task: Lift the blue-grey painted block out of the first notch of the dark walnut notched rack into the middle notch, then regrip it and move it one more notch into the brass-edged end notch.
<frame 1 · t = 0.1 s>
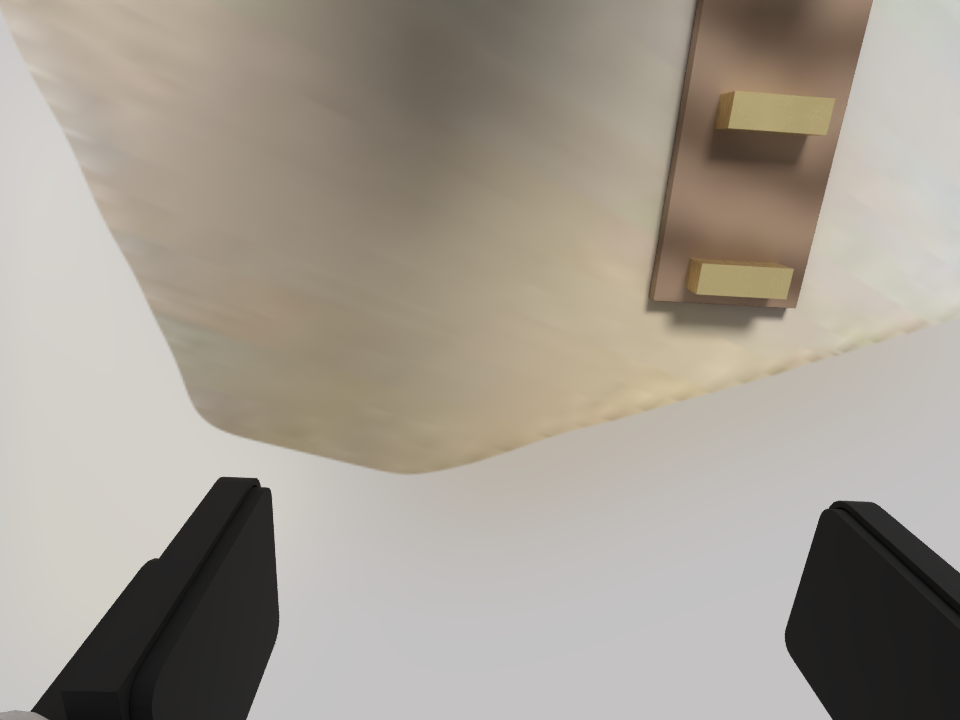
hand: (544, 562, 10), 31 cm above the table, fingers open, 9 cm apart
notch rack: (775, 27, 35), on the table
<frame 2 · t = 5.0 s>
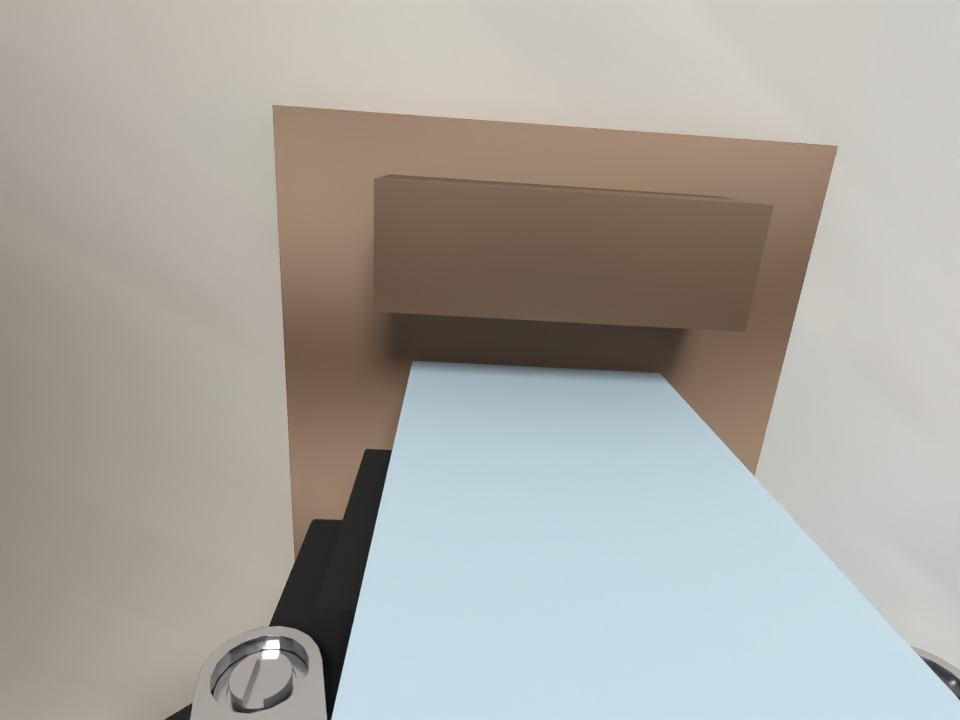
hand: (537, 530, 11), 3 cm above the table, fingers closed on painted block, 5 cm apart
painted block: (526, 475, 12), point 1 cm above the table, touching gripper, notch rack
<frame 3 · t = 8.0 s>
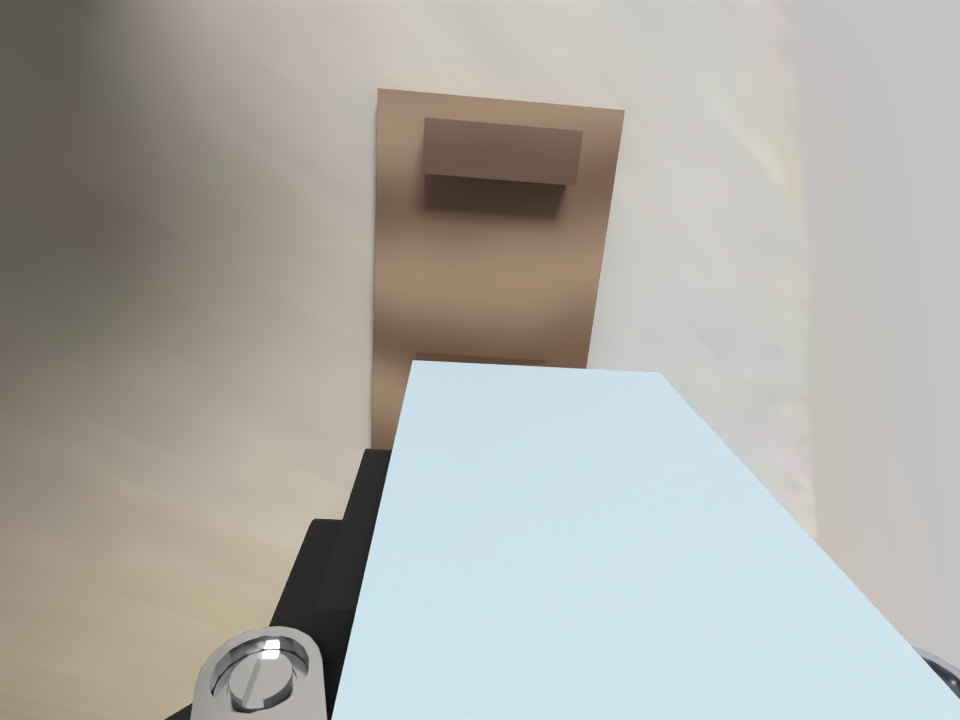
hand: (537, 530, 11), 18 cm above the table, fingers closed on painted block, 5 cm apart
painted block: (526, 475, 12), point 16 cm above the table, touching gripper
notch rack: (471, 458, 30), on the table
when the fingers open (4 cm above the table, at t = 11.5 s): painted block drops 1 cm, resting on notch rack.
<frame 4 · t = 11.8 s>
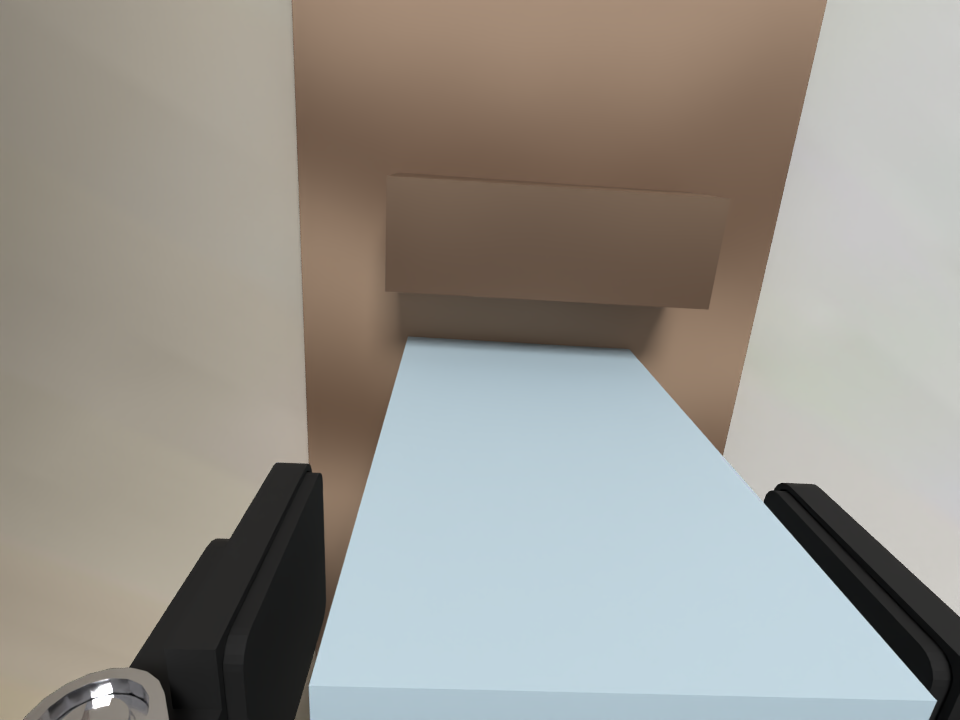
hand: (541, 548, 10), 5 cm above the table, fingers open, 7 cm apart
painted block: (510, 442, 14), point 1 cm above the table, touching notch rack
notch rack: (515, 425, 15), on the table
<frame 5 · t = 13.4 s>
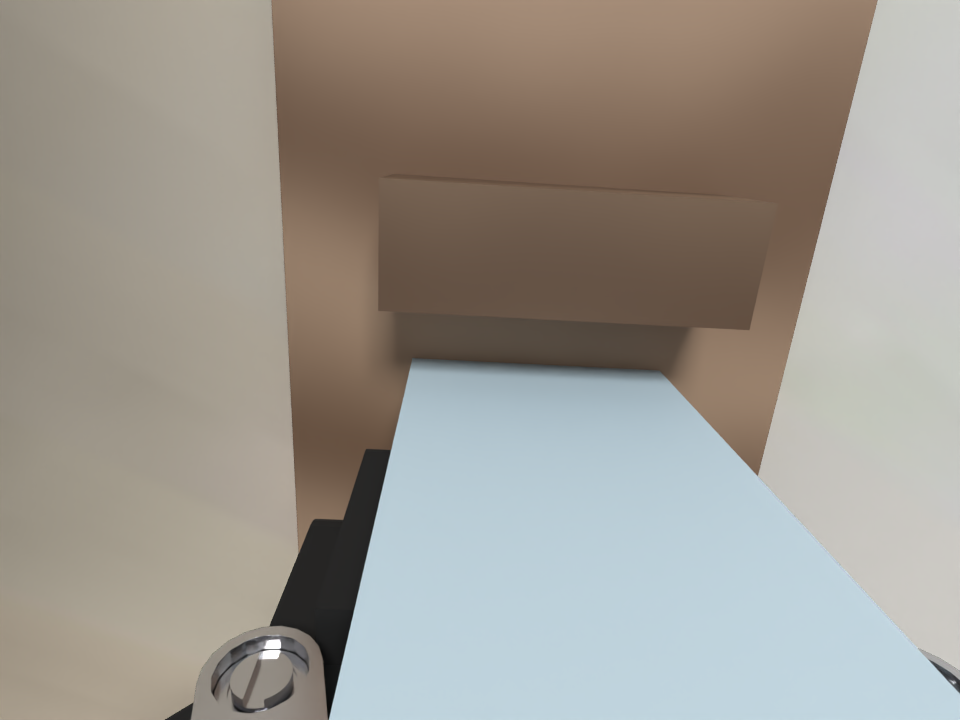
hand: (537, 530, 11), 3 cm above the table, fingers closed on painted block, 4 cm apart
painted block: (526, 473, 12), point 1 cm above the table, touching gripper, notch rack
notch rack: (524, 452, 13), on the table
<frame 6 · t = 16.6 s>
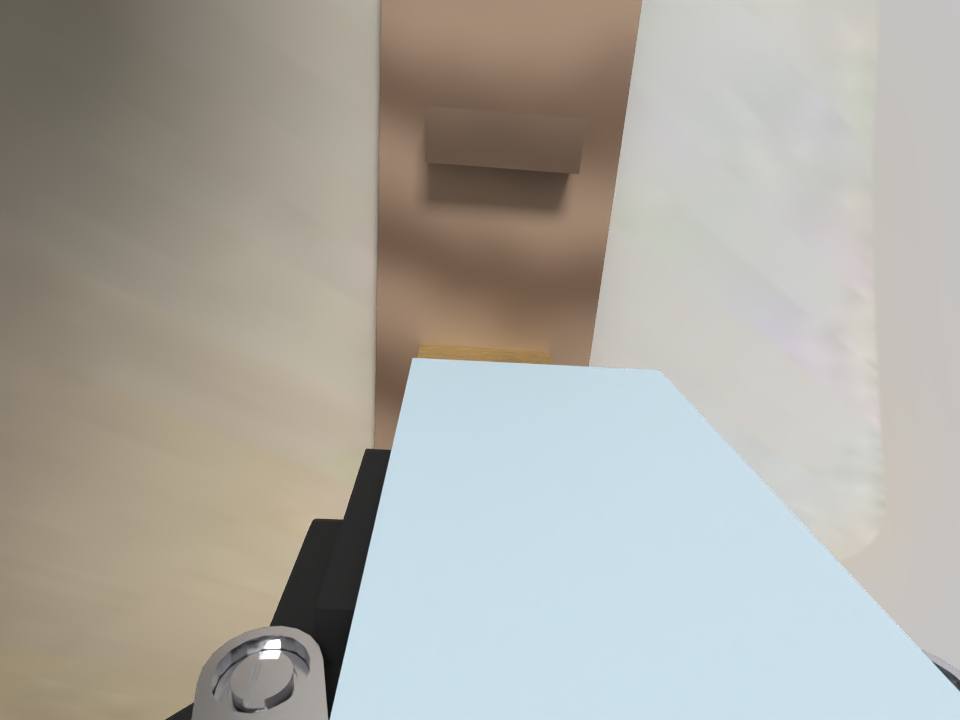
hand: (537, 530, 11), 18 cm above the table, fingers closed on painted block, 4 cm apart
painted block: (526, 473, 12), point 16 cm above the table, touching gripper
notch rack: (490, 258, 27), on the table
when the fingers open (4 cm above the table, at t = 20.1 s): painted block drops 1 cm, resting on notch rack.
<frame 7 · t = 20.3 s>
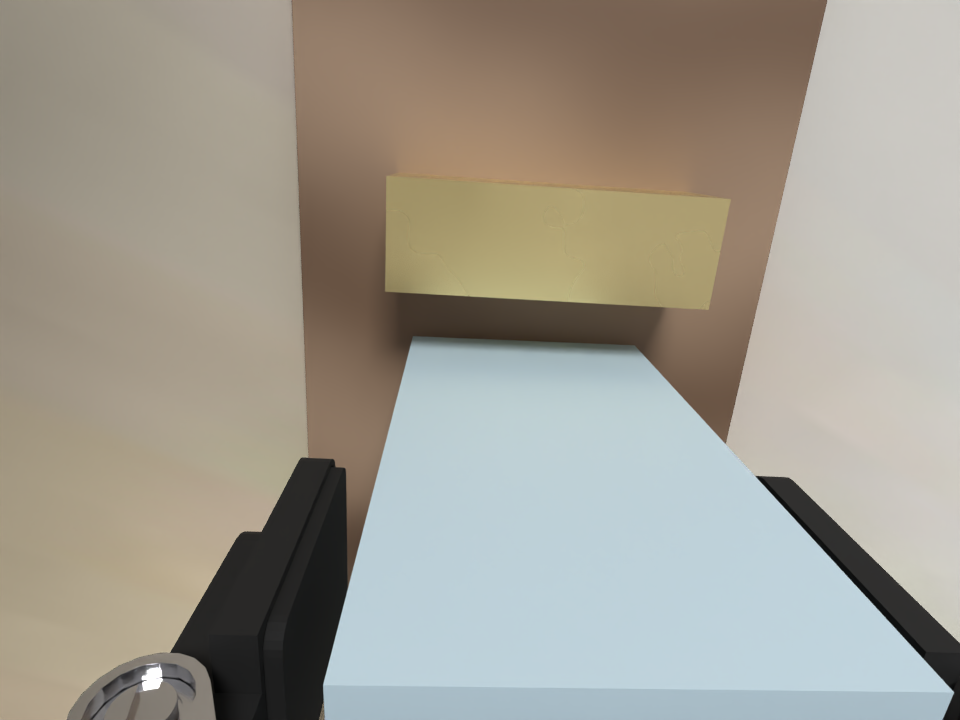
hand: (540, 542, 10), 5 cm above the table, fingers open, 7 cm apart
painted block: (516, 440, 14), point 1 cm above the table, touching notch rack
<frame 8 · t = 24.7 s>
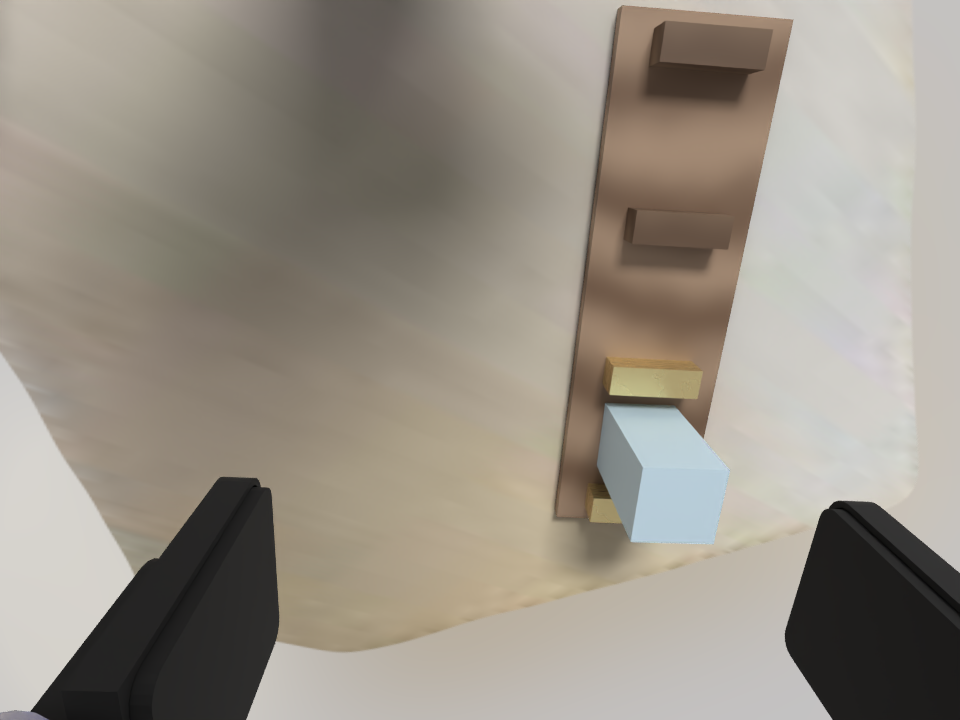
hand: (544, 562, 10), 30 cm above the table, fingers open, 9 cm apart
painted block: (634, 435, 42), point 1 cm above the table, touching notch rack
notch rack: (654, 299, 40), on the table
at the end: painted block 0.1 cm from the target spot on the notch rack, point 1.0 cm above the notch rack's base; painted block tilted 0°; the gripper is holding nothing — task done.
